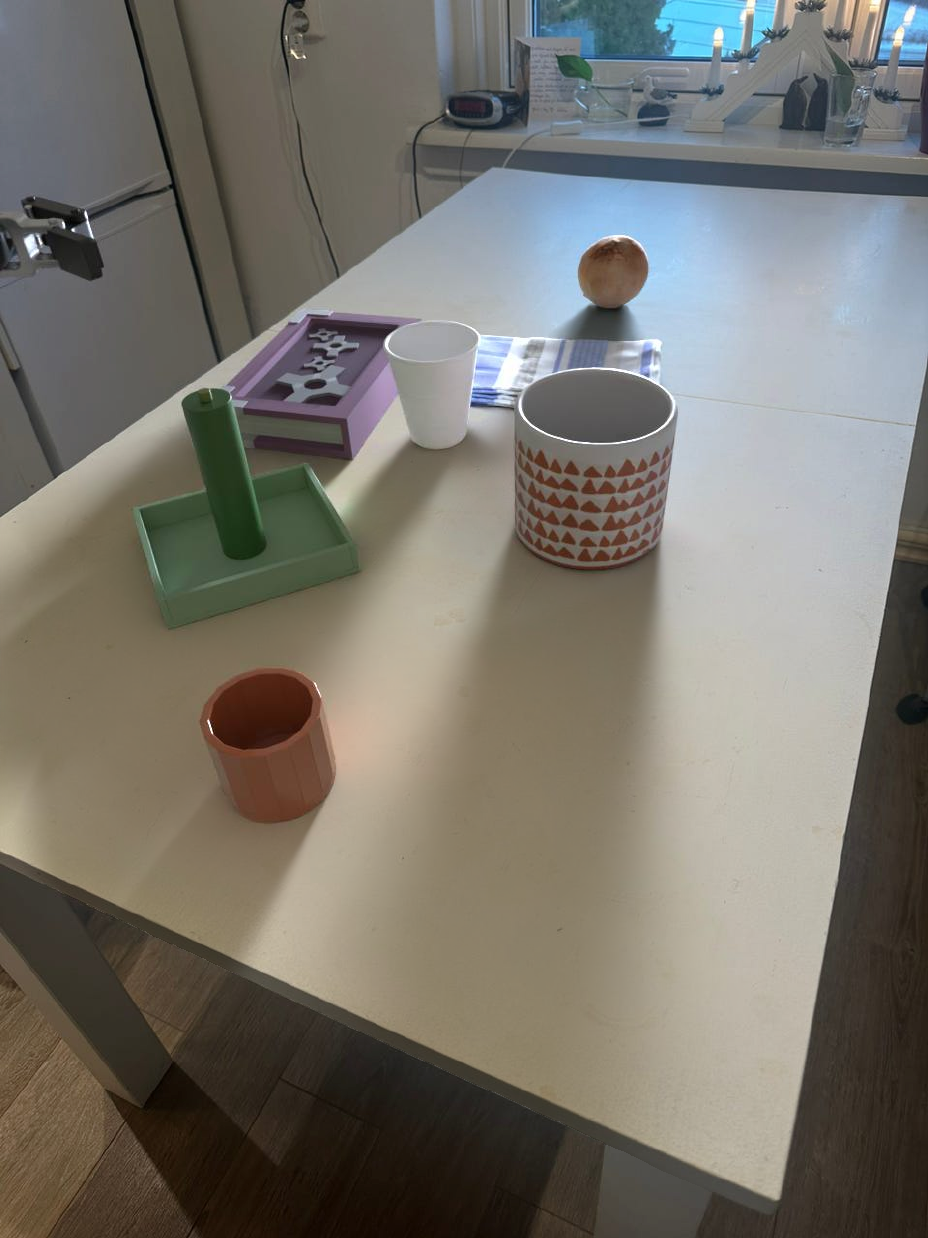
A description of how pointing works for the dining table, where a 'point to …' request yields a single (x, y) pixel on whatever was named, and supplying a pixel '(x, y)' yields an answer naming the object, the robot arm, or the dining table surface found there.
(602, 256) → the onion
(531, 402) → the planter
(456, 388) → the cup
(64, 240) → the robot arm
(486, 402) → the dish towel
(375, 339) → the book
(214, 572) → the tray
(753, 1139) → the dining table surface
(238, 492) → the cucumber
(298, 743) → the crock
